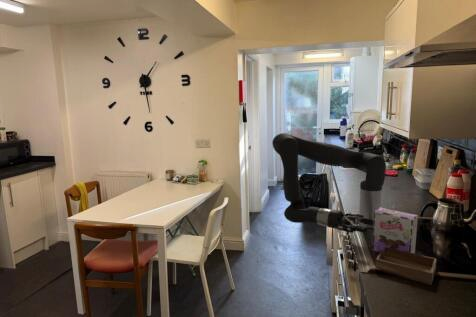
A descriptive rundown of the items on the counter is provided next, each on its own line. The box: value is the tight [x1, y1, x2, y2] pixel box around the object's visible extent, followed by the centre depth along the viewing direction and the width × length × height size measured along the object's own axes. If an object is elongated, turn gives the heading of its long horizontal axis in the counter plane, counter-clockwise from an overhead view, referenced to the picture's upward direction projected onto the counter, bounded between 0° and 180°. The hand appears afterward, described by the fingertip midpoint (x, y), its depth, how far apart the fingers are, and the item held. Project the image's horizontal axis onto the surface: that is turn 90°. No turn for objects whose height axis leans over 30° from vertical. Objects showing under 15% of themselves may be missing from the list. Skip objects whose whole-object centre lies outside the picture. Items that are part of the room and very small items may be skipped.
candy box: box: [371, 206, 419, 254], centre depth 121 cm, size 14×6×16 cm, turn 45°
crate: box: [375, 247, 437, 286], centre depth 111 cm, size 11×17×4 cm, turn 53°
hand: (370, 226), depth 126 cm, fingers open, 8 cm apart
